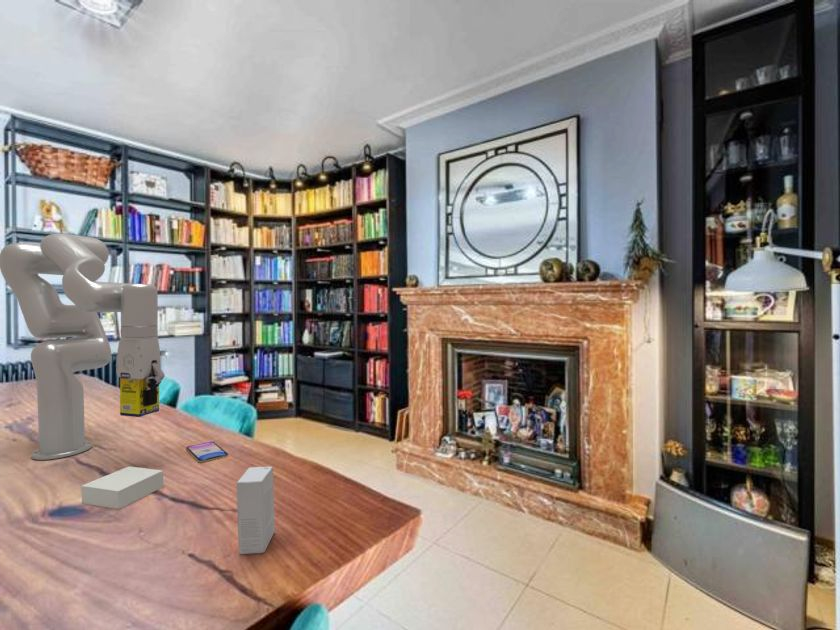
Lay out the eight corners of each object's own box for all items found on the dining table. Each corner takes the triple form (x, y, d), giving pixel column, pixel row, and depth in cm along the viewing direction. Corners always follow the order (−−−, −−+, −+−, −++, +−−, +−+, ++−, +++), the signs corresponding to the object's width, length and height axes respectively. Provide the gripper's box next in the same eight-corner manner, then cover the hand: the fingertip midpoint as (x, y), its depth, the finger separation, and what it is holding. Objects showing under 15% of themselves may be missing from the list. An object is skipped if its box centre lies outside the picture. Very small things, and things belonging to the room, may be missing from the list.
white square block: (81, 504, 81) (81, 485, 81) (129, 483, 90) (128, 466, 90) (118, 511, 78) (118, 491, 78) (163, 488, 88) (163, 470, 88)
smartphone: (213, 443, 116) (213, 440, 116) (230, 457, 105) (230, 453, 105) (184, 450, 111) (184, 446, 111) (199, 465, 100) (198, 461, 100)
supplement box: (139, 417, 96) (139, 373, 95) (119, 415, 97) (119, 372, 96) (160, 411, 101) (160, 369, 101) (140, 409, 103) (140, 368, 102)
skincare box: (250, 533, 69) (248, 466, 69) (275, 532, 69) (273, 465, 69) (237, 555, 63) (235, 482, 63) (264, 553, 63) (263, 480, 63)
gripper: (100, 332, 98) (100, 403, 98) (149, 335, 92) (150, 411, 93) (131, 330, 105) (131, 396, 105) (178, 333, 99) (178, 403, 100)
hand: (140, 402), depth 99 cm, fingers closed on supplement box, 6 cm apart
